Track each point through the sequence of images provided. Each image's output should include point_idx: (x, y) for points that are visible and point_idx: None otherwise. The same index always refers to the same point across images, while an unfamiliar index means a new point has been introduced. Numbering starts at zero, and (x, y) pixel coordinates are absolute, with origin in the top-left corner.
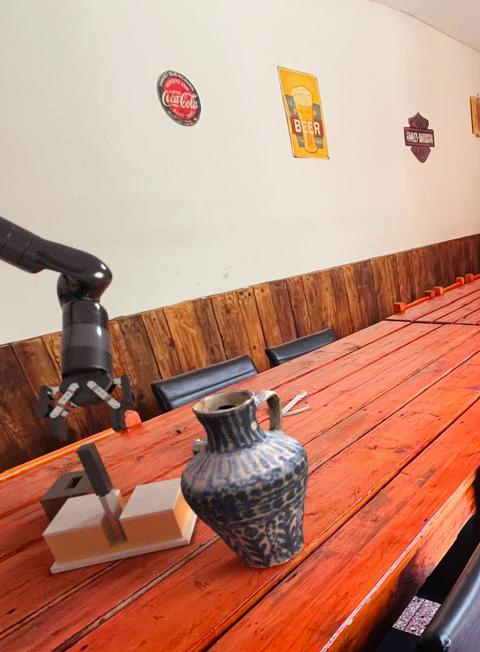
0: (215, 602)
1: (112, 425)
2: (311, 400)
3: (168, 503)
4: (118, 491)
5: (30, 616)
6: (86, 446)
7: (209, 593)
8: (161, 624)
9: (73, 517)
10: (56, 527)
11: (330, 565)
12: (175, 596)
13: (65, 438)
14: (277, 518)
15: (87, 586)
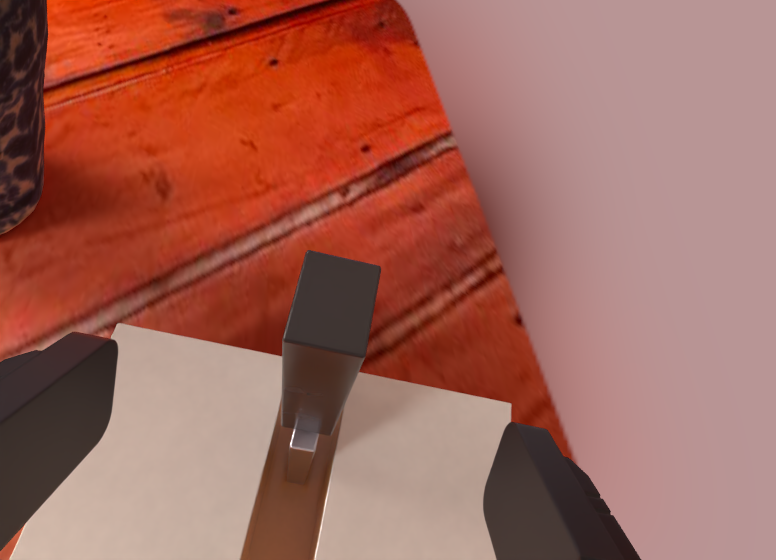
0: (146, 121)
1: (95, 343)
2: None
3: (120, 368)
4: None
5: (477, 280)
6: (328, 301)
7: (149, 148)
8: (246, 126)
9: (441, 468)
10: (480, 426)
11: None
12: (212, 178)
13: (491, 499)
14: None
15: (387, 316)
